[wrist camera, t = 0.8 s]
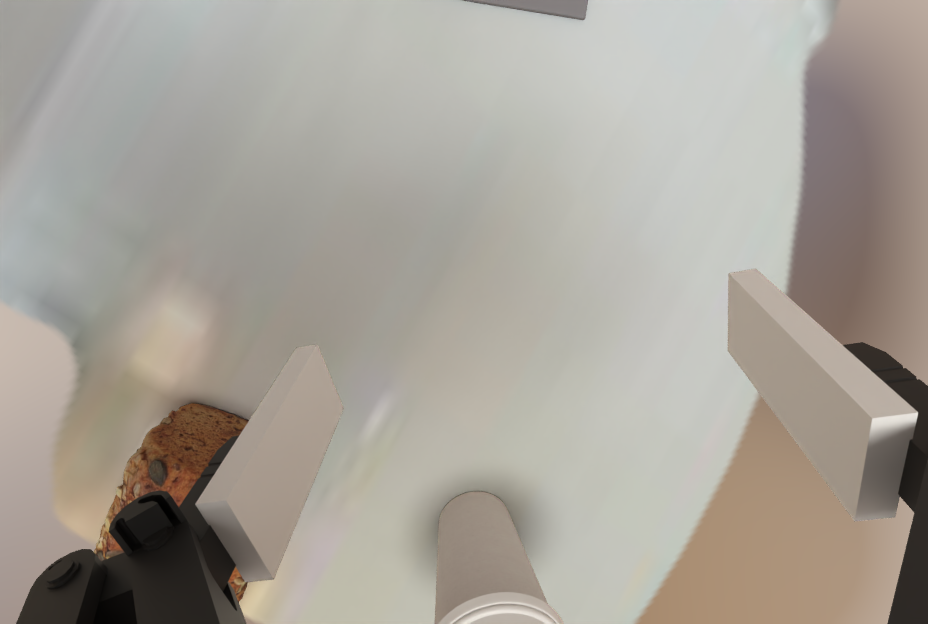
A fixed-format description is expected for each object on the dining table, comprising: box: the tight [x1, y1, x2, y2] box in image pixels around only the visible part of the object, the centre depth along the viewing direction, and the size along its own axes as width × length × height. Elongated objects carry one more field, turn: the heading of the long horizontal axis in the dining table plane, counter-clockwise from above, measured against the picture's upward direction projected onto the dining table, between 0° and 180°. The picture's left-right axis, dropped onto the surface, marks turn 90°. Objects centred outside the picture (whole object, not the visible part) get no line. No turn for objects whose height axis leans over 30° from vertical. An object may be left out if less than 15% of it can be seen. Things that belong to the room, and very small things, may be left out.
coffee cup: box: [435, 491, 564, 624], centre depth 40 cm, size 10×10×15 cm
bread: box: [94, 403, 249, 602], centre depth 39 cm, size 19×11×10 cm, turn 153°
